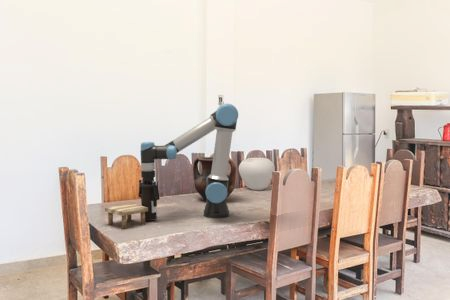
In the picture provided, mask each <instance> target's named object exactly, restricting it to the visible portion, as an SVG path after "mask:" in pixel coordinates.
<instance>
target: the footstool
mask: <svg viewBox="0 0 450 300" xmlns="http://www.w3.org/2000/svg"><path fill="white" fill-rule="evenodd" d="M146 211H148V207H144V206H142V205H139V204H134V203H131V202H130V203H123V204H118V205H112V206H107V207H105V208H104V212H106V213H107V215H108V216H107V220H108V221H107V223H108V226H112V225H113V224H114V215H117V216H121V229H123V230H126V229H128V228H127V227H128V226H127V224H128V223H127V222H131V221H132V215H136V214H140V225H141V224H142V225H143V224H144V225H146V220H145V212H146Z"/></svg>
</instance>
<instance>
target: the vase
mask: <svg viewBox="0 0 450 300" xmlns="http://www.w3.org/2000/svg"><path fill="white" fill-rule="evenodd" d="M275 170H276V167H275V164H274V163H273V161H272V160H270V159H269V158H266V157H248V158H244V159H243V160H242V161H241V162H240V164H239V165H238V173H239V175H240V178H241V180H242V182H243V183H244V185H245V186H246V187H247V188H249V189H251V190H252V191H263V190H265V189H266V188H267V187H268V186H269V185H270V183H271V181H272V179H273V177H272V172H274V171H275ZM275 172H276V171H275ZM275 172H274V173H275Z"/></svg>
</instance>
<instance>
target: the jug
mask: <svg viewBox="0 0 450 300" xmlns="http://www.w3.org/2000/svg"><path fill="white" fill-rule="evenodd" d="M199 162H200V163H201V173H200V171H199V165H198V163H199ZM212 163H213V156H211V157H210V156H209V157H208V156H198V157H196V158H195V159H194V161H193V164H192V174H193V182H194V183H193V186H194V189H195V190H196V192H197V193H198V194H199V196H200V197H202V199H203V201H204V202H205V203H206V202H207V197H206V194H205V191H206V186H207V182H206V180H207V177H208V176H209V175H210V174H211V170H212ZM228 165H229V166H230V173H229V174H227V178H228V179H229V181H228V188H227V198H226V202H227V199H228V197H230V195H231V194H232V192H233V191H234V190H235V187H236V180H237V179H236V178H237V177H236V175H237V166H236V163H235V161H234V160H233V159H232V158H231V157H229V161H228Z"/></svg>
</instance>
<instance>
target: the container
mask: <svg viewBox="0 0 450 300" xmlns="http://www.w3.org/2000/svg"><path fill="white" fill-rule="evenodd" d="M141 188H142V204H141V206H144V207H148V211H146V212H145V221H153V220H156V219H157V212H154V213H152V196H151V190H152V191H154V190H153V184H152V185H151V184H147V183H145V184H141Z"/></svg>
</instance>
